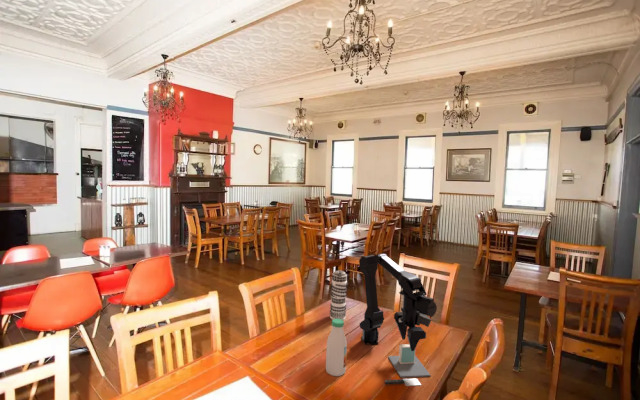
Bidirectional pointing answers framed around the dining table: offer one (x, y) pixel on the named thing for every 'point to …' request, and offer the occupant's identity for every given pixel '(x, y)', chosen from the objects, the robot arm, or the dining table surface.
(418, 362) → the mat
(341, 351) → the milk bottle
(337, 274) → the decorative candle
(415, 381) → the turner
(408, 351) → the tile
